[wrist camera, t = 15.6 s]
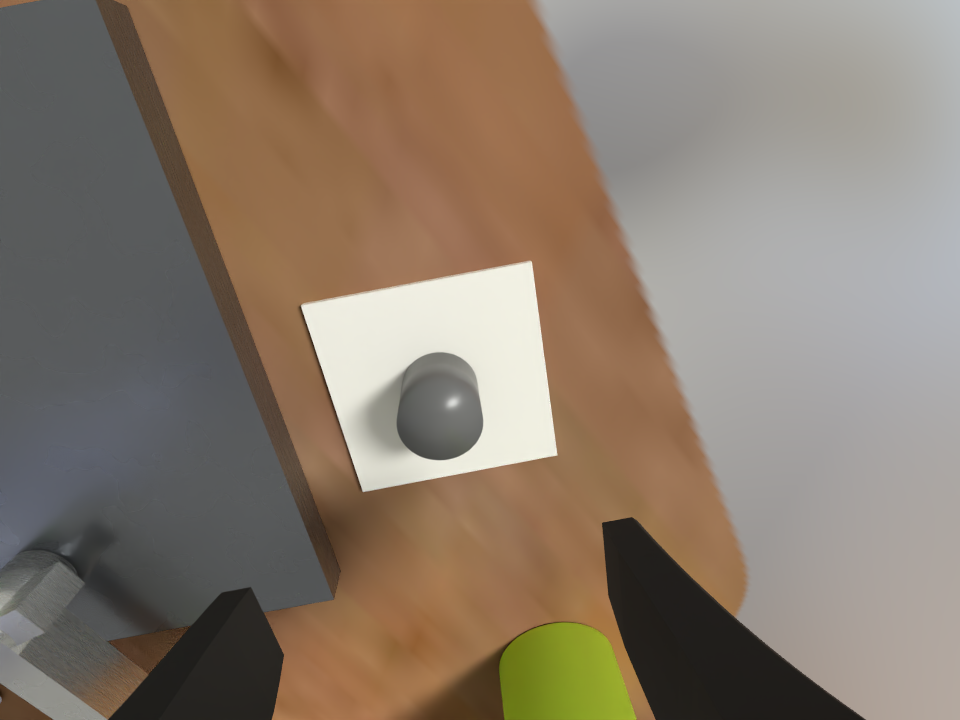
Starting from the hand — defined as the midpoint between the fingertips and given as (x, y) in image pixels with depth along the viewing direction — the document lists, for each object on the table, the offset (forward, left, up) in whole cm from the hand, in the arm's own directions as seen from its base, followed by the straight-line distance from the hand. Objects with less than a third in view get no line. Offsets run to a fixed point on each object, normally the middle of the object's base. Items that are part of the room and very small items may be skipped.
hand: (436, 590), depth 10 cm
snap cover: (0, 0, -10) cm, 10 cm away
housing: (-13, +2, -9) cm, 16 cm away
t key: (-15, -8, -8) cm, 18 cm away
